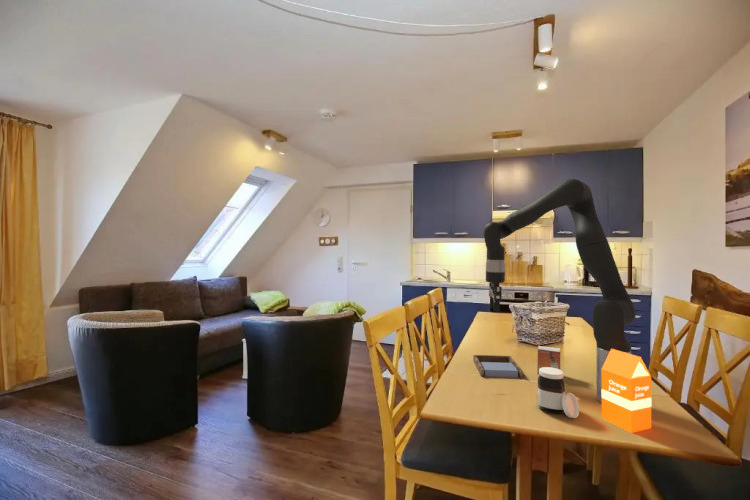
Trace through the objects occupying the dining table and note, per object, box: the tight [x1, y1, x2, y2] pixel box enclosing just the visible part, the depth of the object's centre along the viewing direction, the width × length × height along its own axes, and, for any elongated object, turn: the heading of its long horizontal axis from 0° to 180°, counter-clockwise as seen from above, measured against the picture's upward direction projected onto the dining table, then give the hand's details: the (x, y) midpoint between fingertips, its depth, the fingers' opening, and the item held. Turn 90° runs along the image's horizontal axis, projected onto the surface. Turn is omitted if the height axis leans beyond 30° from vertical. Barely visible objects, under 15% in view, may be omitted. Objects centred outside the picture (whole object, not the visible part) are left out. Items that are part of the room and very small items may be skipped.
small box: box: [536, 345, 561, 375], centre depth 137 cm, size 8×6×10 cm
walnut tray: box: [473, 354, 524, 379], centre depth 142 cm, size 18×15×4 cm
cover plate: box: [481, 362, 518, 378], centre depth 138 cm, size 9×12×2 cm
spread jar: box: [537, 367, 580, 419], centre depth 108 cm, size 12×11×12 cm
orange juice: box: [601, 349, 652, 434], centre depth 100 cm, size 8×9×20 cm
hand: (494, 309), depth 146 cm, fingers open, 8 cm apart
